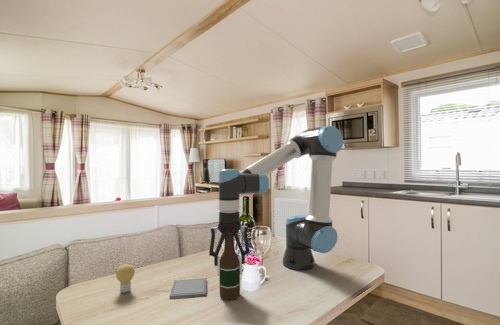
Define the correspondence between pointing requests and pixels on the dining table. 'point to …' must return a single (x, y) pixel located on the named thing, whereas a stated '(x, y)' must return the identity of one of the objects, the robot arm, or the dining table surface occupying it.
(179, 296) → the plate
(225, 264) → the beer bottle
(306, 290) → the dining table surface
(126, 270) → the light bulb
